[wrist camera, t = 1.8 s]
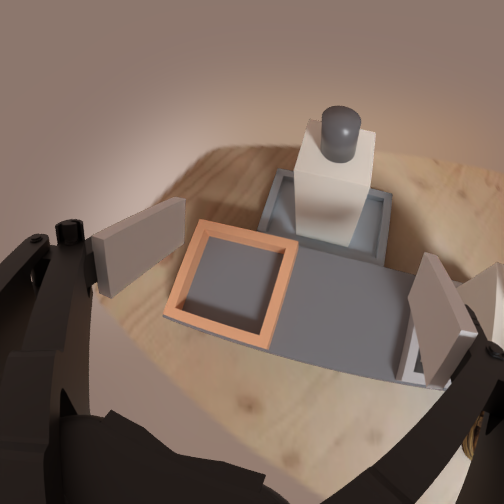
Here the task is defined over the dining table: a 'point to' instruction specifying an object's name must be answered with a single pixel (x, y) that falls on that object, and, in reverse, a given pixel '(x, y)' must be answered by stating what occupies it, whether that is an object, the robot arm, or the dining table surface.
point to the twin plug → (487, 301)
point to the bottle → (333, 176)
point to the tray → (360, 248)
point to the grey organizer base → (298, 303)
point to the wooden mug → (473, 437)
